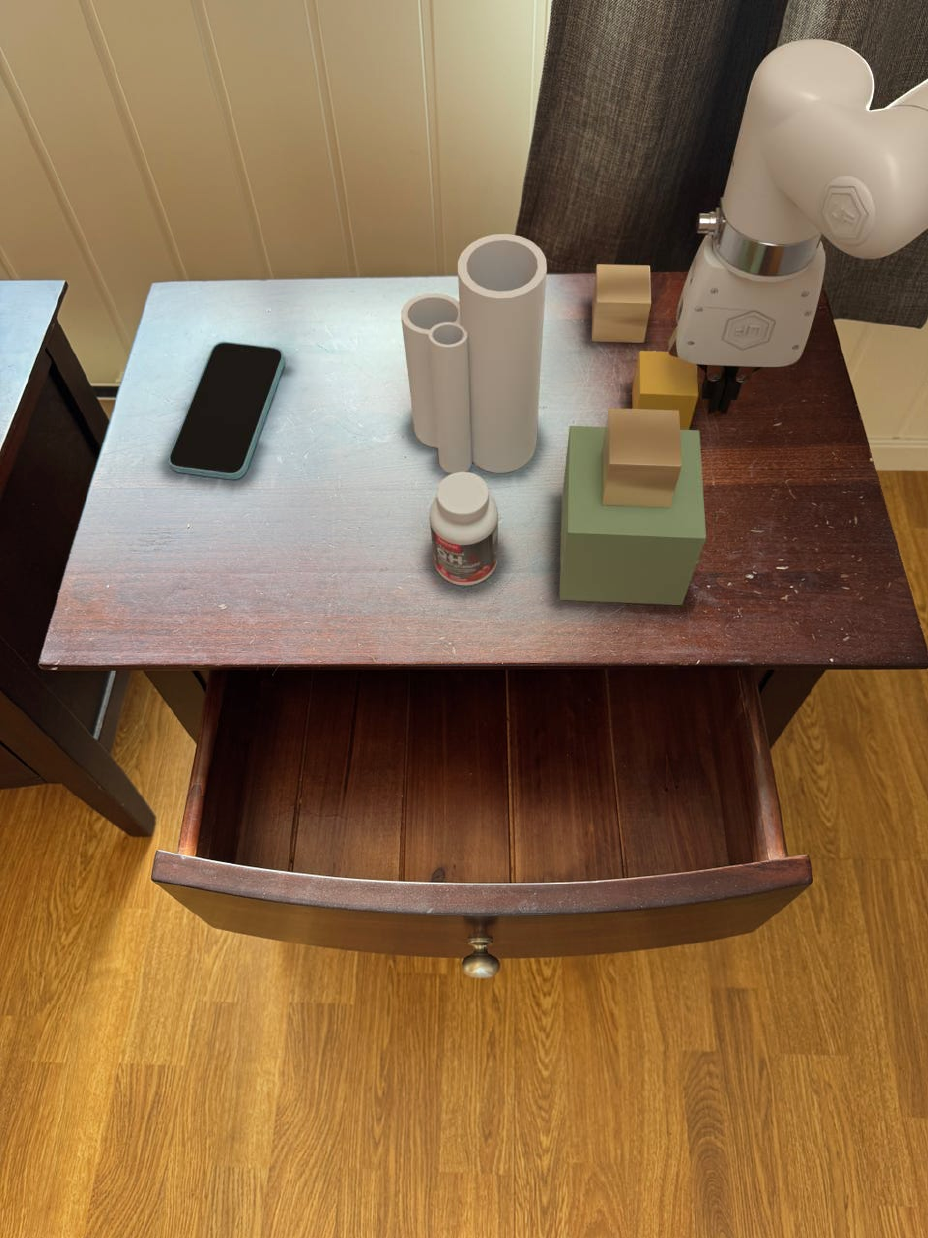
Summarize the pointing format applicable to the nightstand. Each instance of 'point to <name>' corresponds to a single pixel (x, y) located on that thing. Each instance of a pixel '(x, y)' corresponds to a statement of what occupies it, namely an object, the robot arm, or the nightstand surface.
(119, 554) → the nightstand surface
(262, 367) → the smartphone
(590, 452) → the stand
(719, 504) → the nightstand surface
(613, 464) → the near maple block
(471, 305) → the vase
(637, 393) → the mustard block
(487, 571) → the pill bottle
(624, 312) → the far maple block
